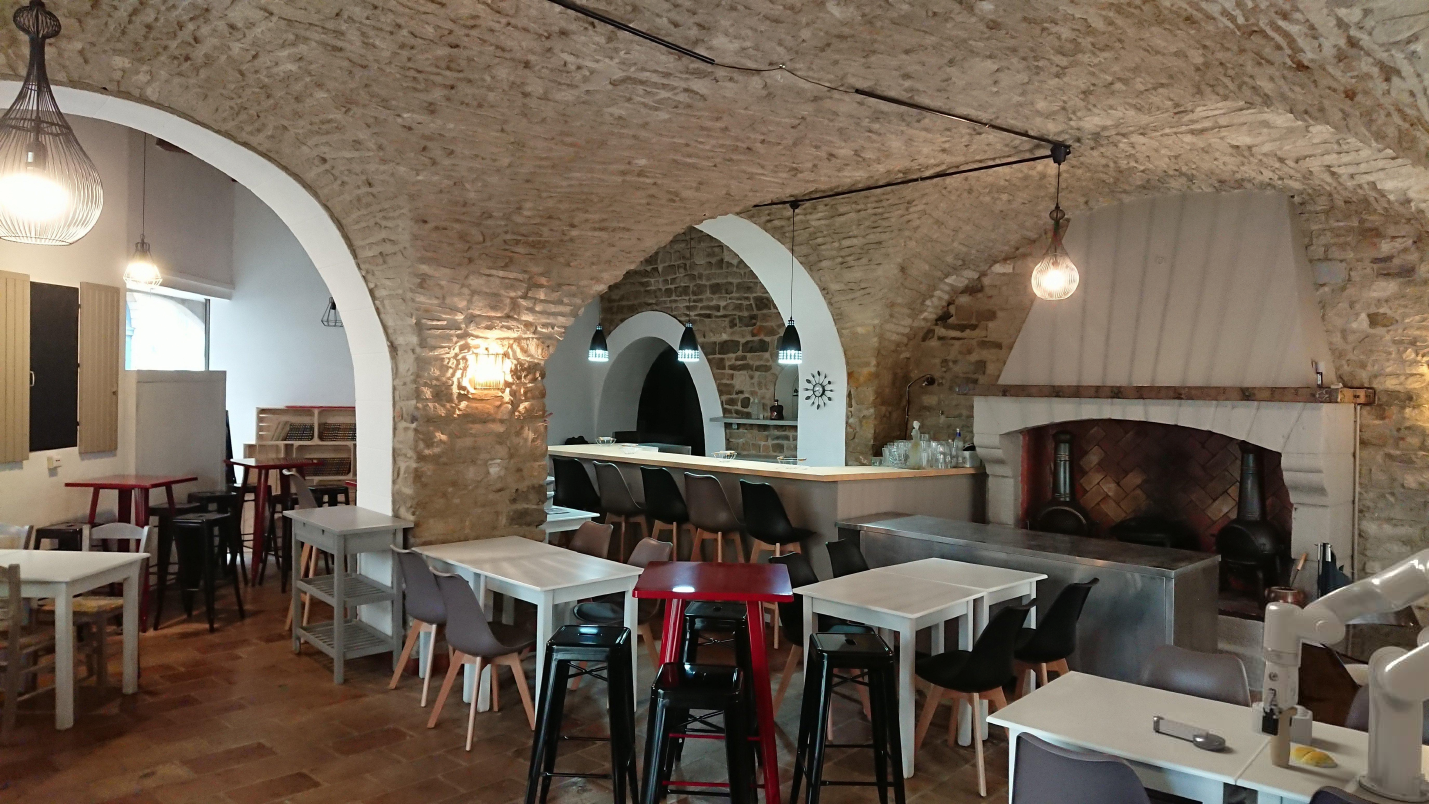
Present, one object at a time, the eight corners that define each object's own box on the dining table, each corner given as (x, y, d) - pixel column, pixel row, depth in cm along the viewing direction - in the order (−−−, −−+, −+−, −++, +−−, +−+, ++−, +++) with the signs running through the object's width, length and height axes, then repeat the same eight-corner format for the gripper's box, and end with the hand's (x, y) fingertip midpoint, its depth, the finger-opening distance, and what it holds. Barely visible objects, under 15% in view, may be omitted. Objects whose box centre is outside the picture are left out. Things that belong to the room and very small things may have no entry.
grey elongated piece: (1229, 746, 219) (1230, 732, 219) (1219, 753, 214) (1219, 738, 214) (1159, 727, 232) (1159, 713, 232) (1147, 733, 227) (1148, 719, 227)
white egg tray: (1308, 749, 223) (1309, 714, 223) (1248, 736, 231) (1249, 702, 231) (1313, 737, 231) (1314, 704, 231) (1254, 725, 239) (1255, 692, 239)
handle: (1294, 777, 205) (1296, 712, 205) (1262, 769, 209) (1264, 705, 209) (1297, 770, 209) (1298, 706, 209) (1264, 763, 213) (1266, 700, 213)
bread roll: (1308, 757, 218) (1309, 740, 218) (1342, 772, 209) (1342, 755, 209) (1280, 759, 216) (1281, 742, 216) (1313, 774, 207) (1313, 757, 207)
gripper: (1287, 667, 200) (1282, 742, 201) (1311, 655, 212) (1306, 726, 212) (1250, 658, 206) (1245, 732, 206) (1275, 647, 217) (1270, 716, 218)
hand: (1276, 729), depth 209 cm, fingers open, 9 cm apart
